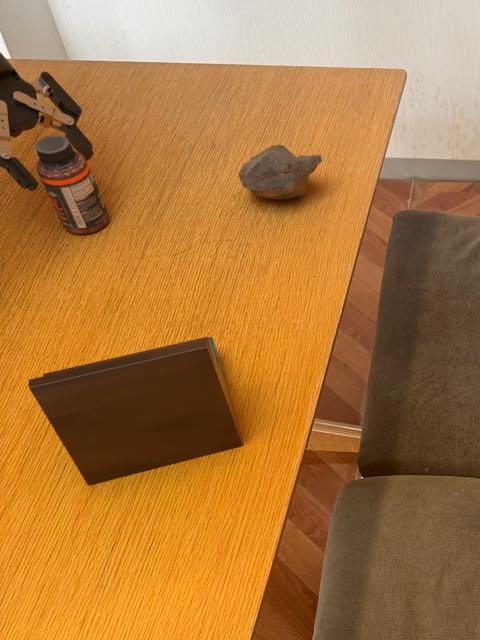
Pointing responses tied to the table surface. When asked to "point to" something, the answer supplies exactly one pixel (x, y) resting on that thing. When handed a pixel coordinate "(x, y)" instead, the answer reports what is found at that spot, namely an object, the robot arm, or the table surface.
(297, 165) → the fossil
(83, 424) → the brown wooden box
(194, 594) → the table surface
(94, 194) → the supplement bottle
